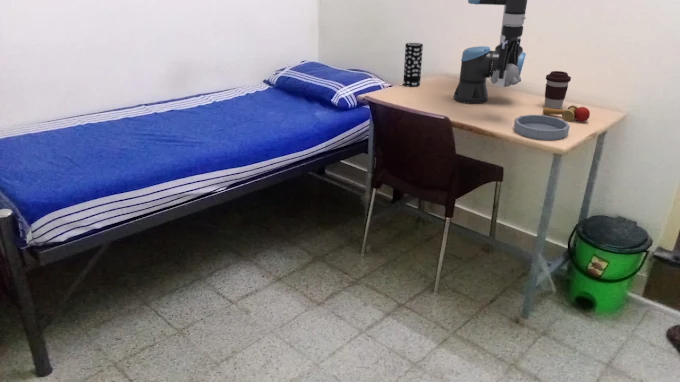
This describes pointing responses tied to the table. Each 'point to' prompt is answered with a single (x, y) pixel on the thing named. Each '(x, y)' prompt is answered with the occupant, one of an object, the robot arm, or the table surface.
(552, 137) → the round tray
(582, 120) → the kendama
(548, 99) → the coffee cup
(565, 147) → the table surface
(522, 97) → the table surface
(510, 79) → the round bodied animal figurine
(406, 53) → the spotted tube
